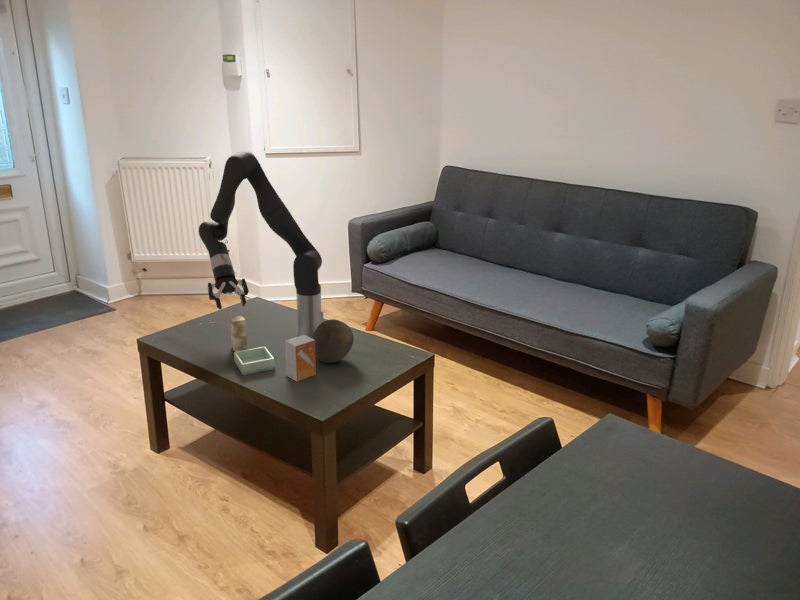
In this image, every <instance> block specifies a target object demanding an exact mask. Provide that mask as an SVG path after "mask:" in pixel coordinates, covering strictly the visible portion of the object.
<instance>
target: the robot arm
mask: <svg viewBox="0 0 800 600" xmlns="http://www.w3.org/2000/svg"><path fill="white" fill-rule="evenodd" d="M244 180H247V181H248V182H249V184H250V186H251V187H252V188H253V190H254V191H253V192H254V193H255V196H256V200H257V205H258V206H257V207H258V209H259V212H260V215H261V216H262V219H263V220H264V221H265V223H266V224H267V226H268V227H269V228H270V230H271V231H273V233H275V234H276V235H277V236H279V238H281V239H282V240H283V241H284V242H286V244H287V245H289V247H290V248H291V250H292V252H293V253H294V255H295V258H294V260H293V265H292V266H293V267H292V269H293V272H292V273H293V283H294V287H295V291H296V292H295V294H296V313H297V314H296V315H297V317H296V319H297V335H298V336H302V335H306V336H308V337H310V338H312V339H313V334H314V332H315V330H316V328H317V327H318V326H319V325H320V324H321V323H322V322H324V320H325V319H324V311H323V310H322V288H321V283H319V270H320V268H321V267H322V264H323V259H322V257H321V256H322V255H321V254H320V252H319V251H318V250H317V248H316V247H315V246H314V245H313V244H312V242H311V241H310V240H309V239H308V238H307V236H306V234H304V232H303V230H302V229H301V227H300V226H299V224H298V223H297V221H296V220H295V219H294V216H293V215H292V214H291V212H290V211H289V208H288V207H287V206H286V204H285V203H284V202H283V200H282V199H281V197H280V196H279V194H278V193H277V191H276V190H275V188H274V186H273V185H272V184H271V182H270V181H269V179H268V176H267V174H266V173H265V171H264V169H263V167H262V166H261V164H260V162H259V160H258V159H257V157H256V156H255V155H254V154H253V153H252V152H250V151H249V150H240V151H238V152H237V153H234V154H233V155H231V156H229V157H228V158H227V159H226V161H225V164H224V168H223V174H222V179H221V183H220V187H219V190H218V194H217V195H216V199H215V200H214V201H215V202H214V203H213V206H212V209H211V211H210V214H209V216H210V217H209V218H210V219H211V220H212V221H203V222H201V223H200V224H199V227H198V234H199V235H198V236H199V237H200V240H201V241H202V243H203V244H204V246H205V249H206V250H207V252H208V256H209V260H210V266H211V271H212V274H213V279H214V282H215V283H212V282H208V283H207V293H208V299H209V301H215V305H216V308H217V309H218V310H222V307H223V306H222V303H221V295H222V294H224V295H226V294H227V295H228V294H233V293H234V294H236V295H238V296H239V298H240V303H241V306H242V307H245V305H246V303H247V301H246V300H247V299H246V297H245V296H248V294H249V291H250V290H249V288H248V284H247V281H246V279H245V278H242V279H239V280H238V279H237V278H236V274H235V271H234V267H233V263H232V260H231V258H230V255H229V250H228V247H227V244H226V243H225V242H222V241H224V240H225V239H226V237H227V236H228V231H229V230H228V229H229V220H230V217H231V216H232V213H233V211H234V208H235V204H236V192H237V190H238V188H239V186H241V183H243V181H244ZM238 285H239V286H240V287H241V288H242V289H241V288H240V287H239V286H238ZM214 289H216V290H217V293H216V294H215V295H214V291H213V290H214Z"/></svg>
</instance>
